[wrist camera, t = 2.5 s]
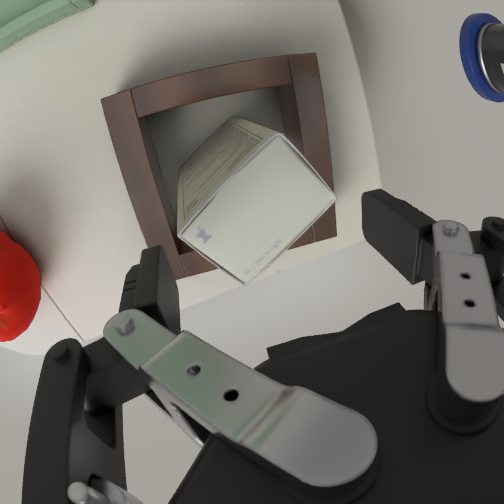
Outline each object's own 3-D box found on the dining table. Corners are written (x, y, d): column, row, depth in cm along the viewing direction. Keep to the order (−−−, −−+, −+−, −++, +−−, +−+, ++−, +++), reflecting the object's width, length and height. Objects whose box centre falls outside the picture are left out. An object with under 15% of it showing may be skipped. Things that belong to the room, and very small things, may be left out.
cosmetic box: (216, 204, 26) (244, 293, 15) (175, 169, 24) (171, 239, 13) (272, 149, 24) (342, 201, 14) (233, 109, 22) (279, 129, 12)
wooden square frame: (296, 56, 21) (316, 52, 18) (318, 216, 28) (337, 236, 25) (113, 97, 20) (100, 99, 16) (163, 257, 27) (162, 283, 24)
